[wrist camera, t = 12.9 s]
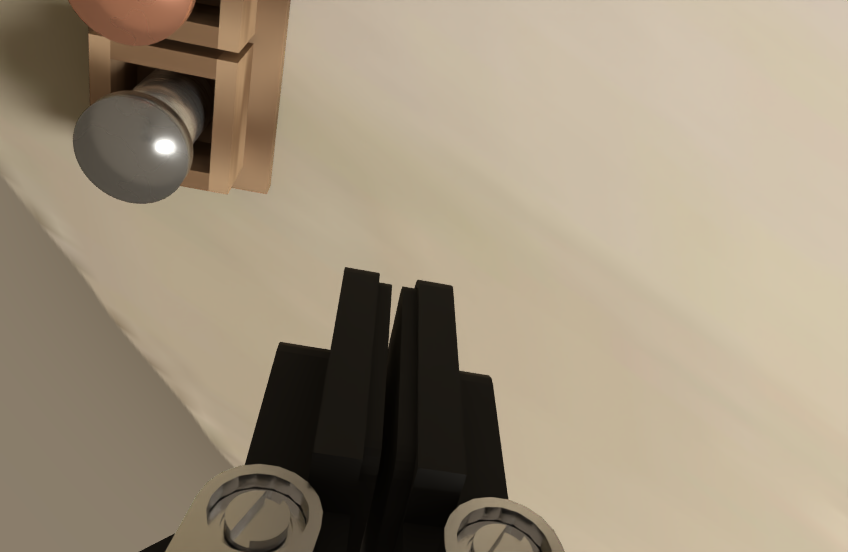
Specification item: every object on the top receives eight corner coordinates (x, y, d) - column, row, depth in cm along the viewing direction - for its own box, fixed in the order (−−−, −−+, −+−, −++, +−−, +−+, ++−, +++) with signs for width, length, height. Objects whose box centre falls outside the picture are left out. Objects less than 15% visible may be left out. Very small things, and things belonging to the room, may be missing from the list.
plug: (133, 42, 39) (71, 86, 32) (230, 61, 39) (190, 109, 32) (132, 133, 41) (74, 192, 34) (223, 150, 42) (185, 212, 35)
